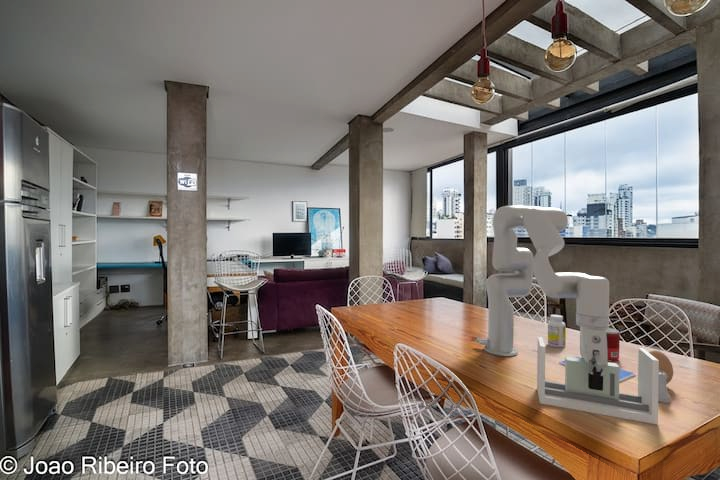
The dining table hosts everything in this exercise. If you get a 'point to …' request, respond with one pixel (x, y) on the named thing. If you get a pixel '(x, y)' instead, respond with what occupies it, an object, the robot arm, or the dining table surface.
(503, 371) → the dining table surface
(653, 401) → the cabinet base
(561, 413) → the dining table surface
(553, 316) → the supplement bottle
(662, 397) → the rook chess piece
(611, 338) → the canned food
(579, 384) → the door panel
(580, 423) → the dining table surface
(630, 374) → the tablet computer
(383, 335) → the dining table surface
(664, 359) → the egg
